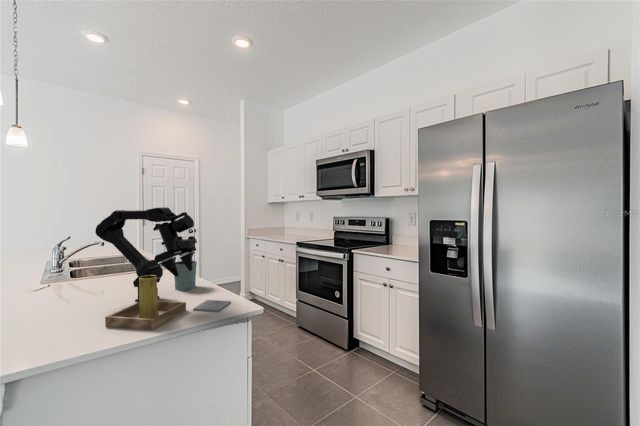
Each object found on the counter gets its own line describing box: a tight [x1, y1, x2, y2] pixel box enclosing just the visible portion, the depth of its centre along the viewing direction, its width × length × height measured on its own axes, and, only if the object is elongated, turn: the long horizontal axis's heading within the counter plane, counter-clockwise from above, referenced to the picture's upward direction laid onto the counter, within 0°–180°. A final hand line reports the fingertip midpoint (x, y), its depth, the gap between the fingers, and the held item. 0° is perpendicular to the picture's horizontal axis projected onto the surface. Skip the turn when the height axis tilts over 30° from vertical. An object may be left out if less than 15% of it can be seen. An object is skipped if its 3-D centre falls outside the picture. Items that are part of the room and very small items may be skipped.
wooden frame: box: [104, 300, 187, 331], centre depth 102 cm, size 17×17×3 cm
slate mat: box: [192, 299, 231, 313], centre depth 114 cm, size 10×10×1 cm
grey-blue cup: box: [173, 260, 197, 291], centre depth 138 cm, size 10×10×12 cm
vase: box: [137, 275, 160, 319], centre depth 102 cm, size 6×6×14 cm
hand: (184, 273), depth 118 cm, fingers open, 9 cm apart
